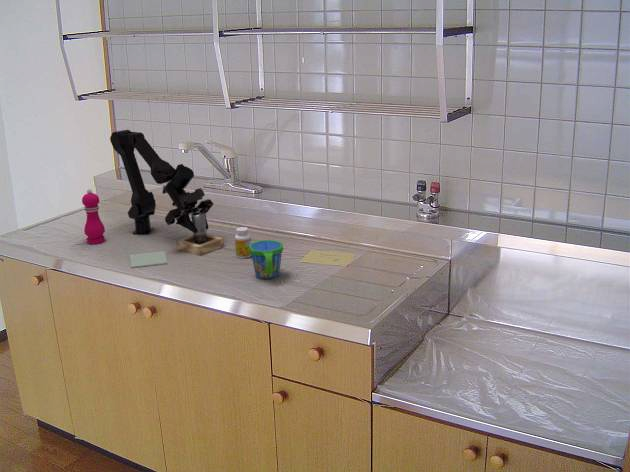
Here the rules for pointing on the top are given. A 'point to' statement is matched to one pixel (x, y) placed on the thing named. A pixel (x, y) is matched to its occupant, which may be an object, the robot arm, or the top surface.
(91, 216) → the pepper mill
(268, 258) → the snack cup
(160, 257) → the rubber mat
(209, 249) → the collar block
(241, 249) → the supplement bottle
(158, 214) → the top surface
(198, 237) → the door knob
